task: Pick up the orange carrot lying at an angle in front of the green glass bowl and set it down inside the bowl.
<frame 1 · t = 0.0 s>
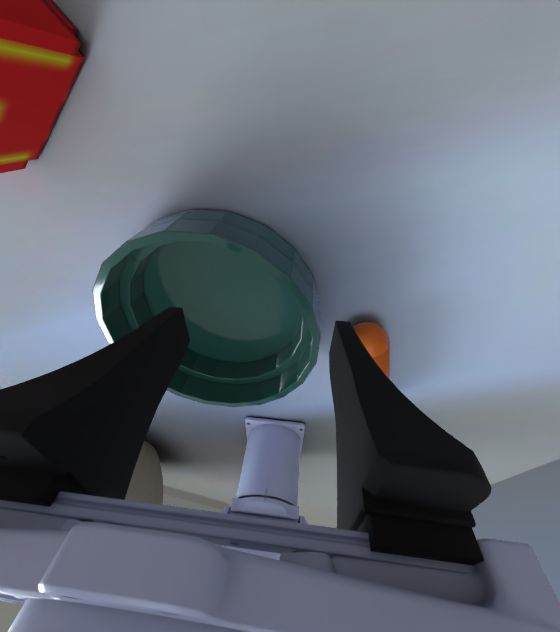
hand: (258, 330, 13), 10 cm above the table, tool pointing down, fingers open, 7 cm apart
carrot: (365, 356, 27), on the table
green glass bowl: (224, 304, 25), on the table
beige deep bowl: (133, 444, 45), on the table
french fries container: (15, 66, 16), on the table
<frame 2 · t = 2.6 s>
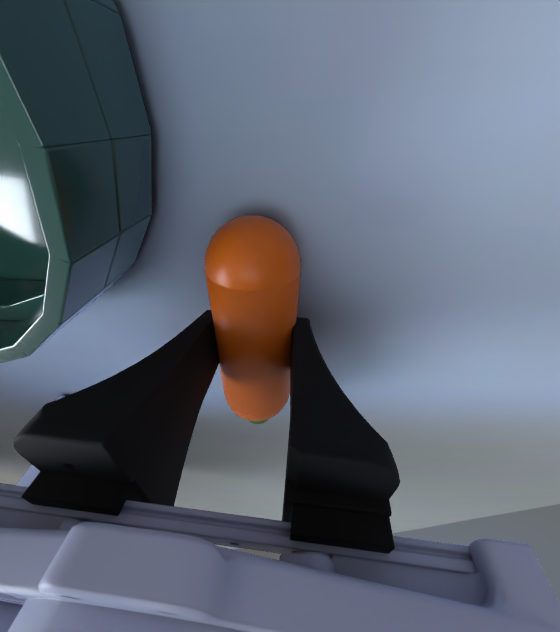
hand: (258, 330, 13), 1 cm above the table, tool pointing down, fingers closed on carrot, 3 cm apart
carrot: (266, 313, 14), on the table, tilted 8°, touching gripper
when the fingers open (2 cm above the table, at t = 6.6 s): carrot stays where it is, resting on green glass bowl.
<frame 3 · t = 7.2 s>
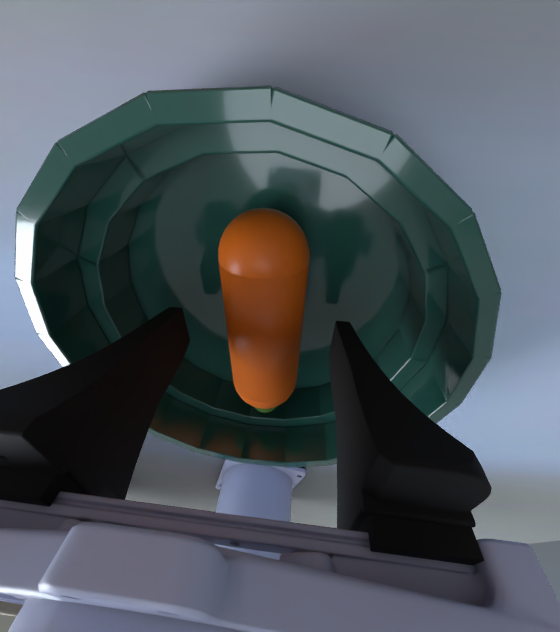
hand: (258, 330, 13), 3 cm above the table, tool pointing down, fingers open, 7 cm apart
carrot: (268, 304, 14), point 1 cm above the table, touching green glass bowl
green glass bowl: (266, 299, 15), on the table
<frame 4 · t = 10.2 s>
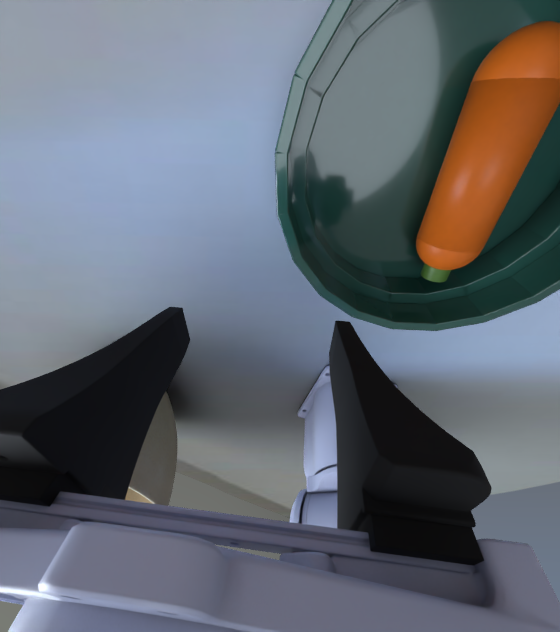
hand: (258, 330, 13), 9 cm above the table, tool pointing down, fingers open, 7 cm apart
carrot: (442, 168, 15), point 1 cm above the table, tilted 49°, touching green glass bowl
green glass bowl: (428, 166, 16), on the table
beige deep bowl: (135, 385, 33), on the table
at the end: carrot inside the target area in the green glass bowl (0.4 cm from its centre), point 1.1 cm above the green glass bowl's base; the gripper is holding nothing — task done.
